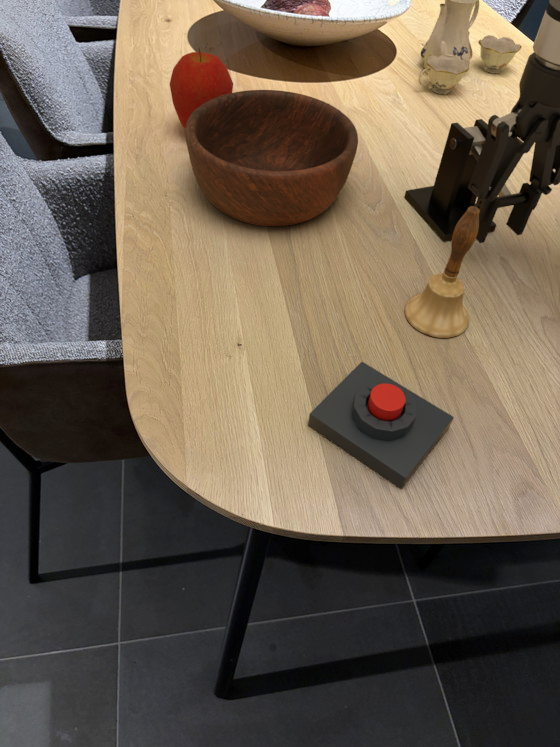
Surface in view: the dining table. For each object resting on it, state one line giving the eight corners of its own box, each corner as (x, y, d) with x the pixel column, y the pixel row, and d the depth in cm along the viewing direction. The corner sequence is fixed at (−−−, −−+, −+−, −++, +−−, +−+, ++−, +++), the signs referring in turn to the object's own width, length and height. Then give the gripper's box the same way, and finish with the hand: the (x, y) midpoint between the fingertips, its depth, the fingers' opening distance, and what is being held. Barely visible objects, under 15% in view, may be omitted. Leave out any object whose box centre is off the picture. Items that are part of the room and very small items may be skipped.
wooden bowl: (252, 133, 106) (253, 73, 98) (376, 185, 97) (389, 123, 90) (154, 196, 92) (147, 131, 84) (290, 262, 83) (296, 197, 76)
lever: (523, 207, 82) (532, 195, 79) (489, 214, 80) (497, 201, 78) (479, 137, 86) (487, 124, 84) (446, 142, 85) (453, 129, 83)
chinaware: (446, 114, 118) (480, 25, 105) (380, 76, 123) (405, -13, 110) (516, 75, 132) (554, -8, 119) (454, 43, 138) (484, -40, 124)
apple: (180, 149, 101) (174, 63, 90) (167, 121, 107) (160, 37, 96) (240, 142, 104) (240, 57, 93) (223, 115, 110) (222, 32, 99)
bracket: (494, 231, 91) (528, 145, 80) (443, 241, 88) (471, 155, 78) (452, 188, 98) (478, 104, 88) (404, 197, 96) (425, 112, 85)
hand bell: (400, 292, 81) (430, 187, 68) (461, 295, 81) (501, 191, 69) (409, 337, 75) (442, 231, 63) (474, 340, 75) (520, 235, 63)
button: (408, 406, 63) (412, 395, 62) (390, 426, 61) (393, 416, 60) (379, 388, 65) (382, 377, 63) (361, 408, 63) (363, 397, 61)
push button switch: (448, 428, 66) (459, 406, 63) (401, 489, 61) (410, 468, 58) (358, 373, 71) (364, 350, 68) (307, 425, 65) (311, 403, 62)
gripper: (607, 38, 71) (533, 207, 89) (475, 52, 66) (424, 228, 84) (653, 65, 67) (565, 237, 84) (515, 82, 62) (452, 261, 79)
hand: (495, 232), depth 84 cm, fingers closed on lever, 5 cm apart
